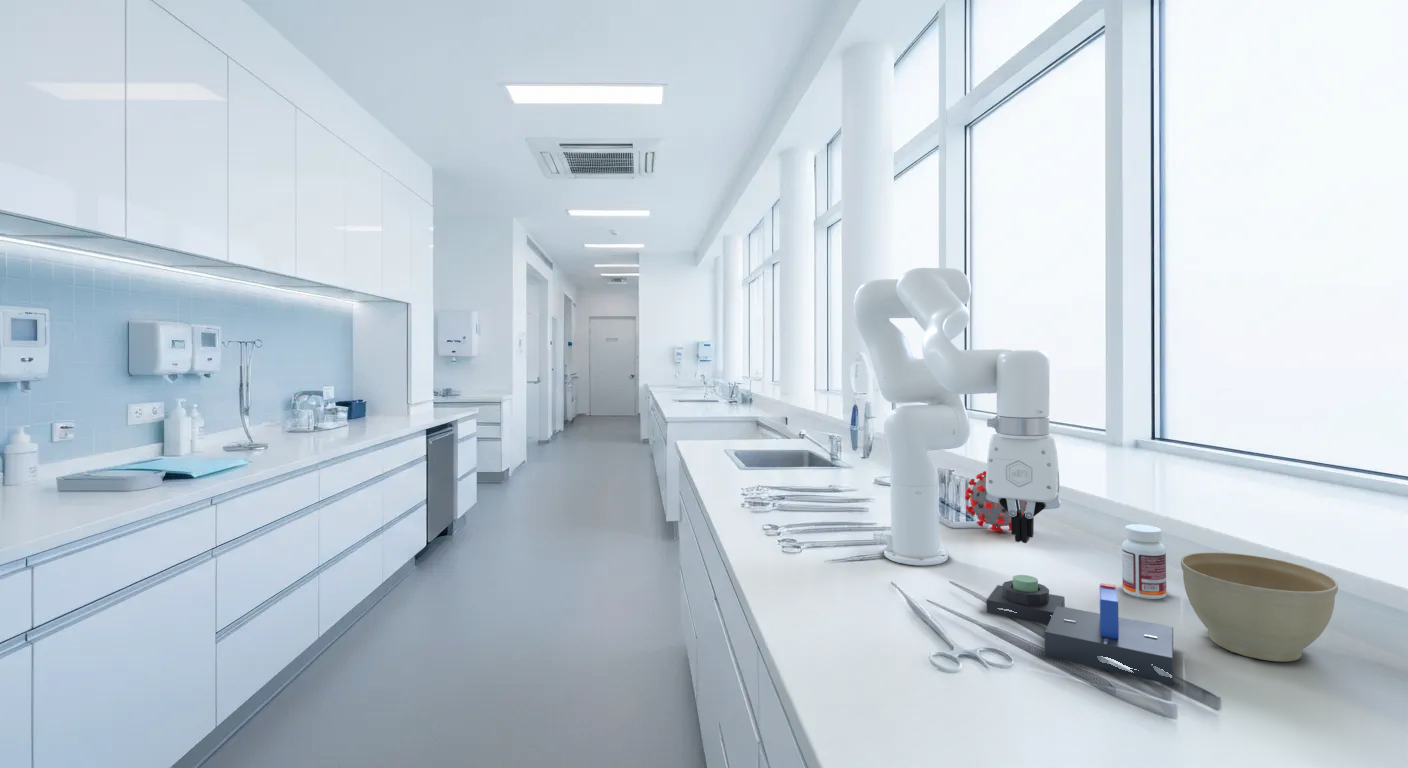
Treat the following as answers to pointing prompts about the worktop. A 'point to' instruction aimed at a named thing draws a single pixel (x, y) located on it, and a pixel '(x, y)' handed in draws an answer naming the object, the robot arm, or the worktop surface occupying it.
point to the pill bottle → (1144, 562)
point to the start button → (1025, 583)
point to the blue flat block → (1109, 611)
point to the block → (1024, 603)
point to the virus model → (988, 506)
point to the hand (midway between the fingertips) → (1022, 540)
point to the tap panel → (1110, 644)
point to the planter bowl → (1258, 603)
